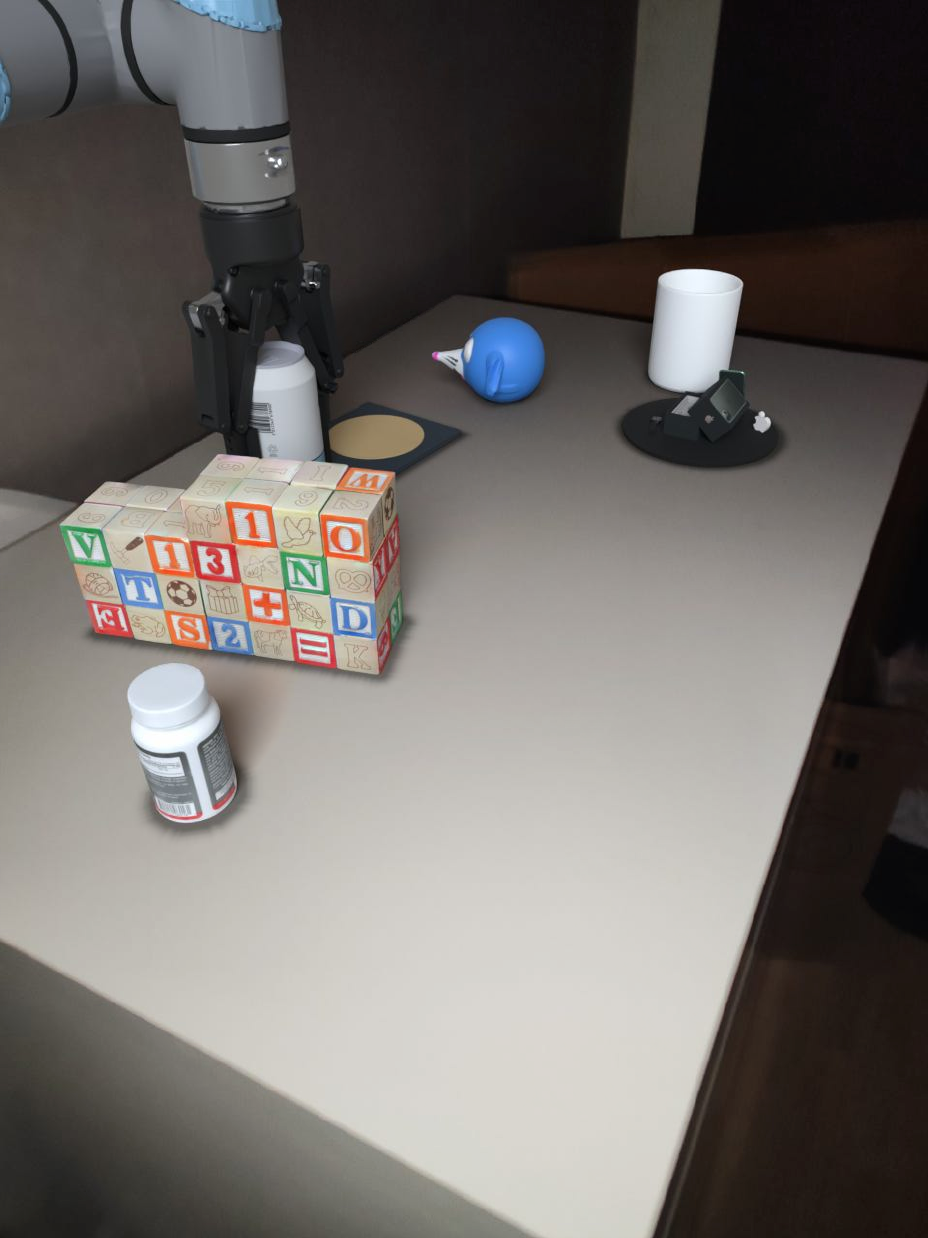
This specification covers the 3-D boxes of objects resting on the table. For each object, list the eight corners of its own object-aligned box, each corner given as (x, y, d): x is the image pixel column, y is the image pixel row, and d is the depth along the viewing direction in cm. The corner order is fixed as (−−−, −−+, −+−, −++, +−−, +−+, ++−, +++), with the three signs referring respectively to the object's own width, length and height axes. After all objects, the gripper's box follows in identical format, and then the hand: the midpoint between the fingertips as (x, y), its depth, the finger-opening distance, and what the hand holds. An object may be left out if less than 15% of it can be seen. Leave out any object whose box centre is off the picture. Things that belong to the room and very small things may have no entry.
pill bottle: (220, 753, 55) (194, 645, 50) (250, 802, 52) (226, 693, 47) (143, 785, 53) (108, 677, 48) (170, 838, 50) (135, 728, 45)
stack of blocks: (92, 636, 65) (42, 482, 57) (136, 587, 70) (95, 439, 62) (381, 676, 61) (368, 516, 54) (406, 620, 66) (396, 467, 59)
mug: (736, 360, 105) (753, 264, 99) (719, 400, 96) (736, 297, 90) (662, 351, 108) (673, 256, 101) (639, 389, 99) (650, 288, 92)
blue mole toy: (444, 372, 103) (442, 297, 98) (549, 379, 101) (552, 302, 96) (420, 417, 94) (417, 336, 89) (535, 425, 92) (539, 343, 87)
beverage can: (343, 484, 81) (330, 352, 74) (279, 512, 77) (258, 376, 70) (296, 459, 85) (280, 331, 78) (233, 484, 81) (209, 353, 74)
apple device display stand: (753, 481, 82) (764, 424, 79) (599, 444, 88) (603, 391, 85) (794, 418, 93) (806, 366, 89) (653, 390, 99) (660, 340, 95)
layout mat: (191, 499, 80) (190, 493, 80) (368, 406, 96) (368, 400, 96) (289, 541, 75) (288, 534, 74) (461, 435, 90) (460, 428, 90)
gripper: (172, 237, 59) (231, 541, 72) (375, 180, 72) (392, 446, 85) (99, 221, 62) (168, 513, 76) (305, 169, 75) (332, 427, 89)
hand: (287, 477), depth 81 cm, fingers open, 7 cm apart
